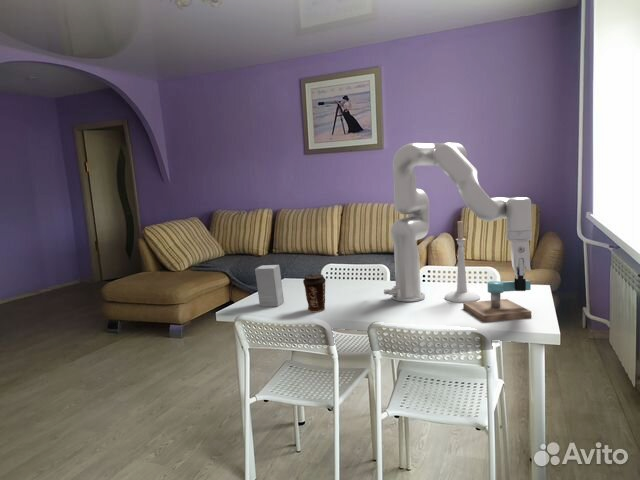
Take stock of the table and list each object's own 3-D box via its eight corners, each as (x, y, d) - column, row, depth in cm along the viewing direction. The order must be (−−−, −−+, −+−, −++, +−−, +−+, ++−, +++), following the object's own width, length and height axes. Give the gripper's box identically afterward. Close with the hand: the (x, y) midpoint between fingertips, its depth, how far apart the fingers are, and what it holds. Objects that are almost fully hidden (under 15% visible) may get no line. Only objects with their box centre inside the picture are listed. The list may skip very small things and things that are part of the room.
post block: (483, 321, 147) (483, 300, 146) (463, 308, 163) (462, 289, 162) (531, 317, 149) (531, 296, 148) (506, 304, 165) (506, 285, 164)
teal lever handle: (490, 293, 153) (490, 284, 152) (485, 290, 158) (485, 281, 157) (533, 291, 153) (533, 281, 152) (526, 287, 158) (526, 278, 157)
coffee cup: (306, 307, 178) (303, 274, 176) (327, 306, 177) (325, 272, 176) (304, 313, 169) (302, 279, 167) (327, 312, 169) (325, 277, 167)
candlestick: (470, 304, 167) (468, 222, 164) (438, 299, 176) (436, 221, 172) (485, 296, 177) (484, 218, 173) (454, 292, 185) (452, 218, 182)
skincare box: (284, 302, 186) (281, 264, 184) (277, 307, 180) (274, 267, 178) (265, 302, 189) (262, 264, 187) (257, 306, 183) (254, 267, 181)
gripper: (534, 238, 142) (535, 296, 144) (528, 232, 156) (529, 285, 158) (508, 238, 144) (510, 296, 146) (505, 233, 158) (506, 285, 161)
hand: (520, 290), depth 152 cm, fingers closed
